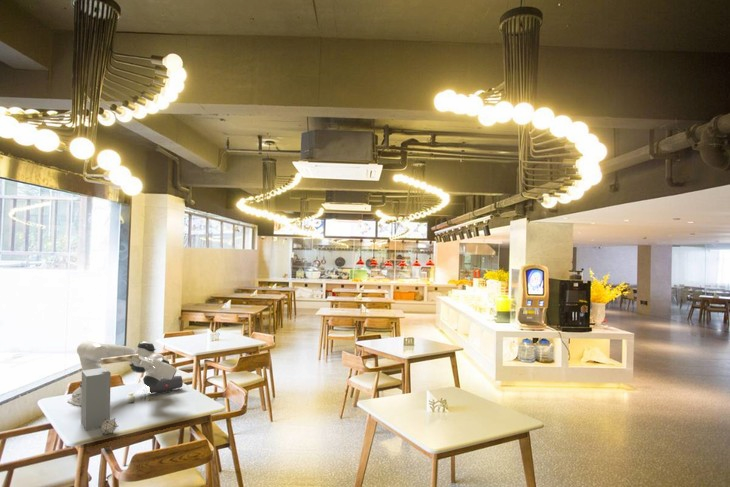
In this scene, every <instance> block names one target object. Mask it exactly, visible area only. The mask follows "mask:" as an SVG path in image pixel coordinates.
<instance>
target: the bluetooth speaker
mask: <svg viewBox="0 0 730 487" xmlns="http://www.w3.org/2000/svg"><path fill="white" fill-rule="evenodd" d="M183 384H184V382H183V376H182V375H174V377H173V378H172V379H165V378H162V379H161V380H160V383H159V385H158V386H156V387H150V392H151V393H150V394H157V393H159V394H164V392H165V393H169V391H170V392H172V391H173V390H176V389H180V388H182V387H183Z"/></svg>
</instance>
